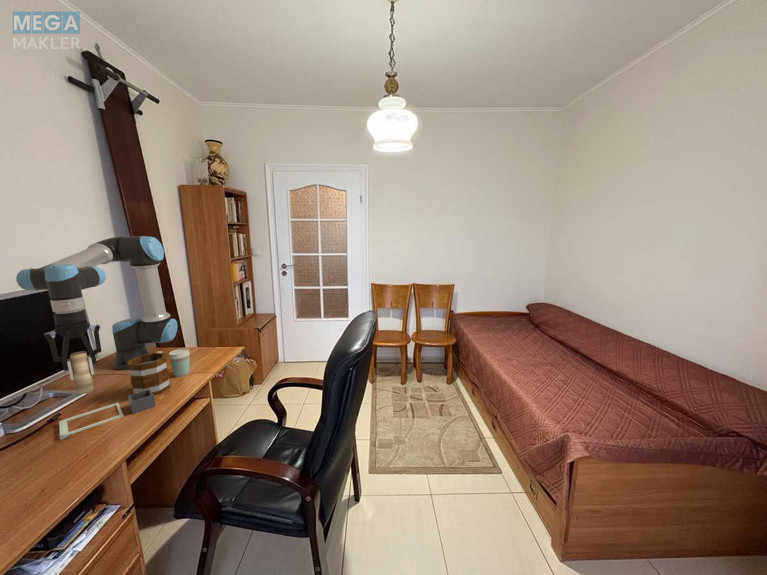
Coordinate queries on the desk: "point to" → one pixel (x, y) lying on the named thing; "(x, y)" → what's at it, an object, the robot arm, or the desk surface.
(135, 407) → the pen cup
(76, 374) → the dowel
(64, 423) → the tray
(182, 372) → the coffee cup
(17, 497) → the desk surface
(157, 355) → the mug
